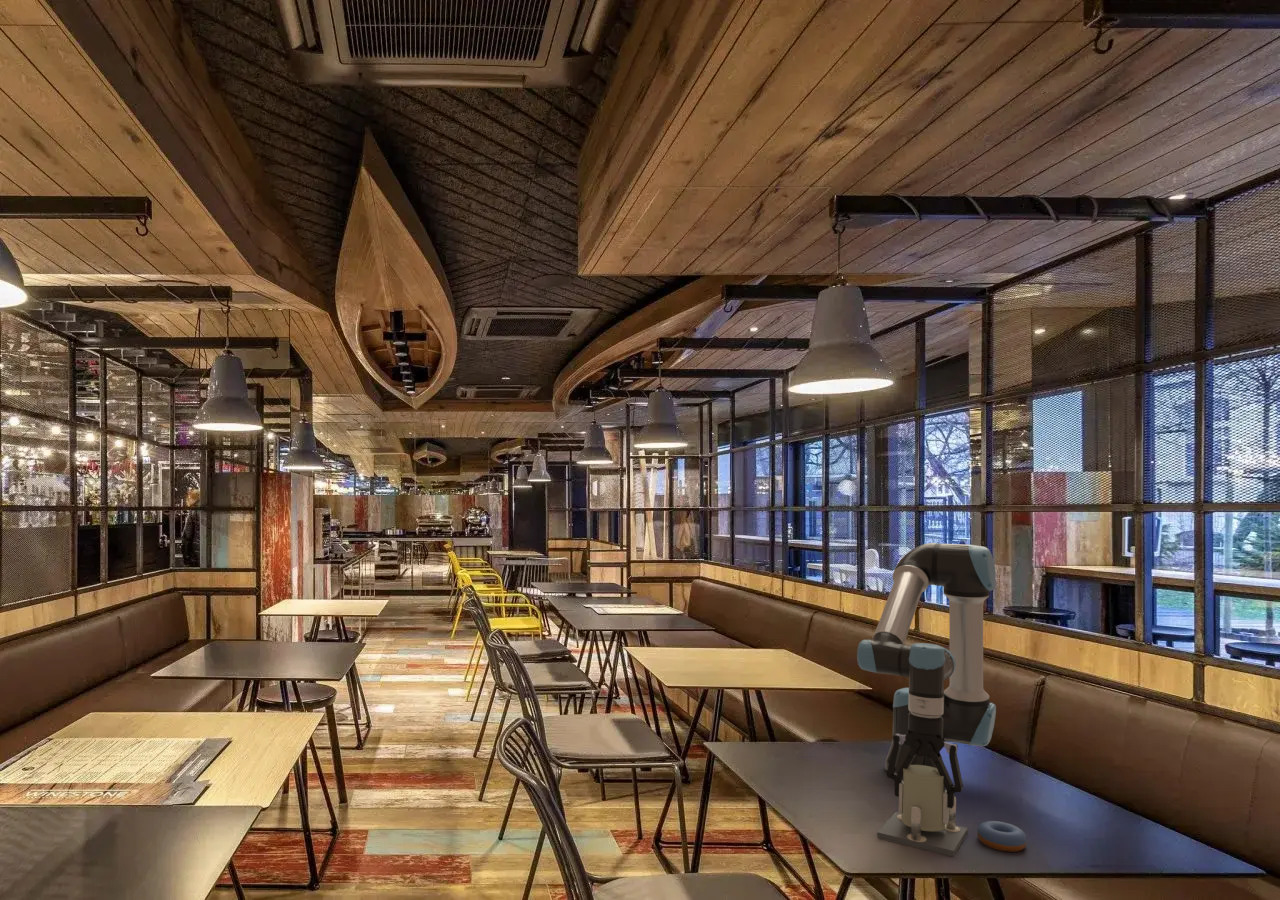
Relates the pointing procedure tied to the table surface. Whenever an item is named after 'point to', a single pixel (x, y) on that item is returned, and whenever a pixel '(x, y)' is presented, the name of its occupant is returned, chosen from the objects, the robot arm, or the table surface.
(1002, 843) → the doughnut
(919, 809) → the pins
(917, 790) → the can
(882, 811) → the table surface
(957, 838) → the board
